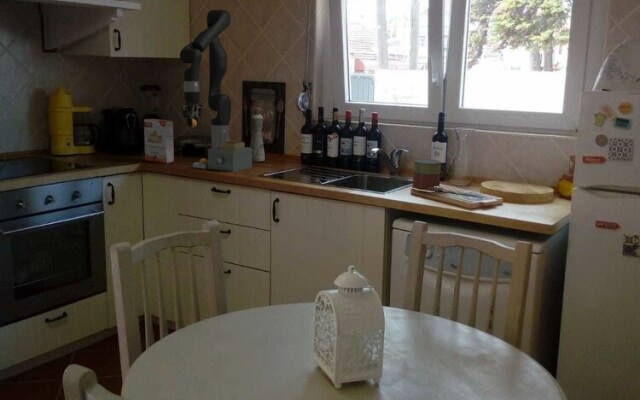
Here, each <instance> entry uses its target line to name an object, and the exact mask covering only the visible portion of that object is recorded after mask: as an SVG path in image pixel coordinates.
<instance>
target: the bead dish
mask: <svg viewBox="0 0 640 400" xmlns="http://www.w3.org/2000/svg"><path fill="white" fill-rule="evenodd" d="M192 168H194V169H197V168H198V169H203V170H206V169H208V164H199V161H198V162H193V163H192Z"/></svg>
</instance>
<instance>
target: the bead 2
mask: <svg viewBox="0 0 640 400" xmlns="http://www.w3.org/2000/svg"><path fill="white" fill-rule="evenodd" d="M198 162H199V164H208V159H206V158H201V159H200V160H199V161H198Z"/></svg>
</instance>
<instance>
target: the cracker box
mask: <svg viewBox="0 0 640 400" xmlns="http://www.w3.org/2000/svg"><path fill="white" fill-rule="evenodd" d="M143 130H144V160H145V161H147V162H156V163H163V164H169V163H173V162H174V161H175V156H174V155H175V154H174V121H173V120H169V119H168V120H167V119H159V118H145V119H143Z"/></svg>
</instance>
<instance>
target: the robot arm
mask: <svg viewBox="0 0 640 400" xmlns="http://www.w3.org/2000/svg"><path fill="white" fill-rule="evenodd" d="M231 22H232V16H231V14H230V12H229V11H228V10H225V9H210V10H209V11H208V12H207V15H206V27H207V28H206V29H204V30H203V31H200V32H199V34H197V36H196V37H195V38H194V39H193V41H192V42H190V43H188V44H187V45H185V46H184V47H182V49H181V50H180V51H179V60H180V61H181V62H182V63H183V64H191V65H190V67H189V68H185V69H184V70H183V81H184V82H183V100H184V101H185V105H182V106H181V110H182V113H183V117H184V119H187V121H186V123H187V127H190V128H193V127H192V119H195V120H196V122H197V125H196V126H195V127H197V126H198V125H199V117H202V116H201V115H202V110H203V104H201V103H200V104H199V101H200V100H201V94H200V93H201V91H200V87H201V86H200V78H199V77H200V76H199V75H200V69H201V68H200V67H201V64H202V60H203V54H202V53H204V52H205V51H206V49H207V48H208V67H209V70H208V71H209V72H208V73H209V75H208V76H209V79H208V80H209V81H208V82H209V86H208V96H207V99H208V100H207V103H208V107H209V109H210V110H211V111H213V112H216V113H217V114H216V116H215V117H213V118H212V119H211V148H216V147H221V143H222V142H228V141H231V138H230V121H231V118H232V100H231V97H230V95H228V94H226V93H221V91H222V90H221V89H222V88H221V85H222V81H223V79H224V77H225V75H226V72H227V70H228V54H227V52H226V50H225V48H224V45H222V43H221V40H220V38H219V35H221V34H222V33H223V32H224V31H225V30H226V29H228V28H229V26H230V25H231Z"/></svg>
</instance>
